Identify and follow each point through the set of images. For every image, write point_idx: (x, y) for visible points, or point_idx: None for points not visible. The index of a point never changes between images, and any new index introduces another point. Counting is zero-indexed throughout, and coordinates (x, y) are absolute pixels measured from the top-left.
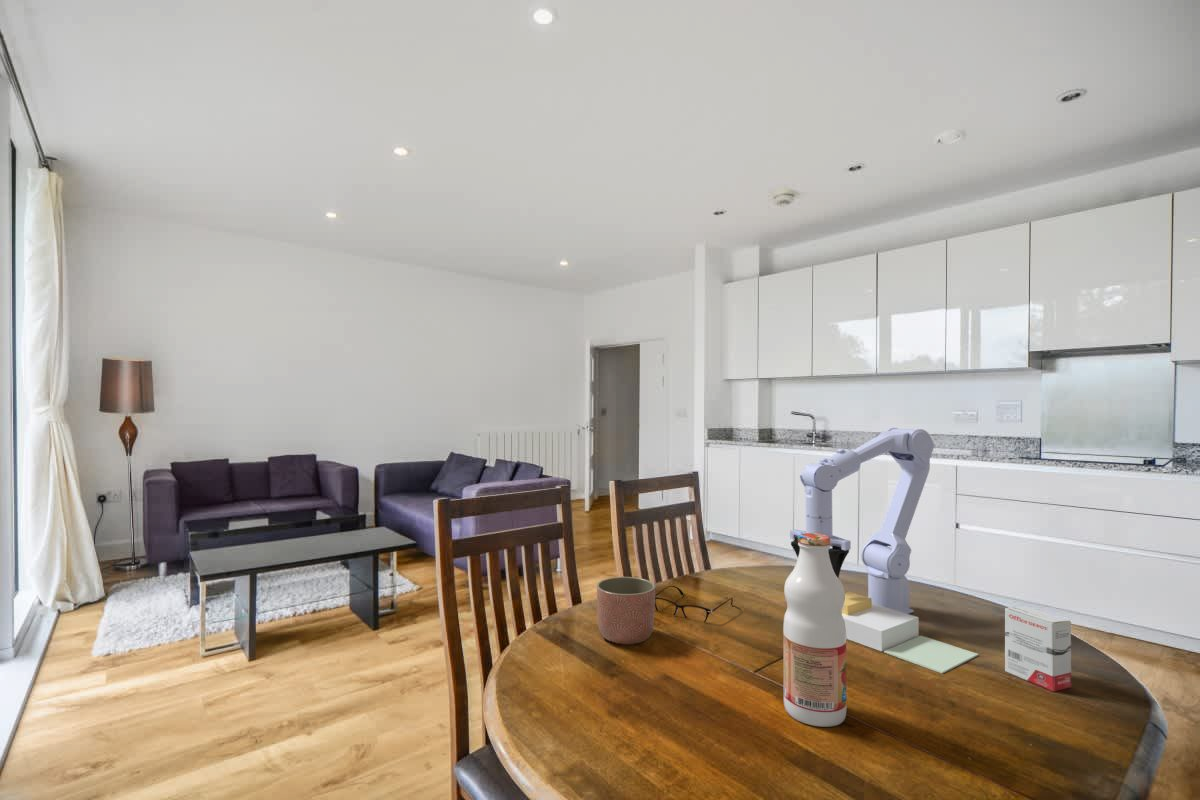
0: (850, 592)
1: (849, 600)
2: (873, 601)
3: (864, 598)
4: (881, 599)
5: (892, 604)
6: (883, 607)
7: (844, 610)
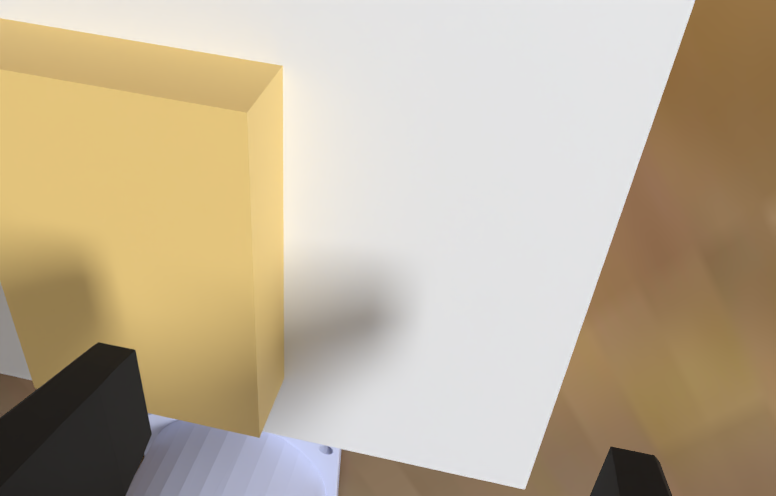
0: (219, 422)
1: (61, 231)
2: (231, 479)
3: (50, 353)
4: (167, 493)
5: (133, 482)
6: None
7: (6, 38)
